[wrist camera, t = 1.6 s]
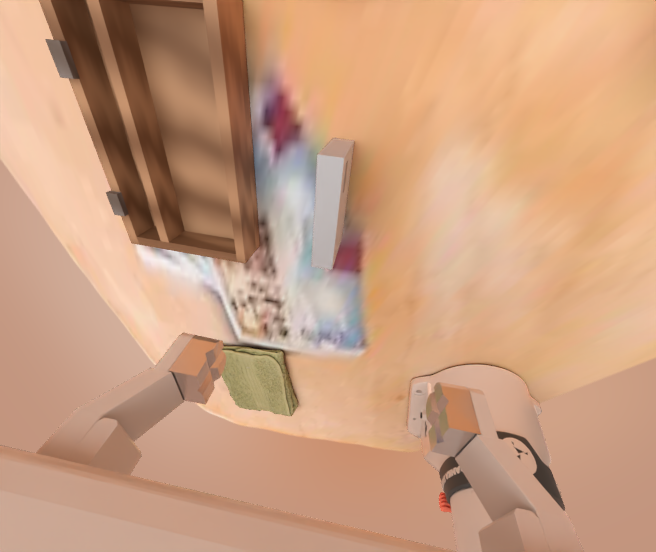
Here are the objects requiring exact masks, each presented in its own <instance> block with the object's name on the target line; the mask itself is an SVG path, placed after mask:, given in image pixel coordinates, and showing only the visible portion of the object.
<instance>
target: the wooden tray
mask: <svg viewBox="0 0 656 552" xmlns="http://www.w3.org/2000/svg"><path fill="white" fill-rule="evenodd" d="M39 2H40V4H41V7H42V10H43V12H44V15H45V18H46V20H47V23H48V25H49V28H50V31H51V33H52V36H53V39H54V40H50V39H46V42H47V45H48V47H49V50H50V52H51V55H52V57H53V60H54V62H55V65H56V67H57V70H58V72H59V75H60V77H62V78H69V80H70V83H71V86H72V88H73V91H74V94H75V96H76V99H77V101H78V104H79V107H80V109H81V112H82V115H83V117H84V120H85V122H86V125H87V128H88V130H89V133H90V136H91V138H92V141H93V143H94V146H95V149H96V151H97V154H98V157H99V159H100V162H101V164H102V167H103V170H104V172H105V175H106V178H107V180H108V183H109V185H110V188H111V191H109V192H106V194H107V197H108V199H109V202H110V204H111V207H112V209H113V212H114V214H115V215H120V216H121V217H122V220H123V222H124V225H125V227H126V230H127V233H128V235H129V238H130V241H131V243H133V244H139V245H145V246H150V247H156V248H162V249H167V250H173V251H179V252H184V253H190V254H195V255H201V256H207V257H212V258H218V259H224V260H229V261H235V262H241V263H246V262H247V261H248V260H249V258H250V257H251V256H252V255H253V253H254V252H255V251H256V250H257V248H258V247H259V246H260V240H259V226H258V212H257V198H256V184H255V170H254V156H253V142H252V128H251V114H250V100H249V86H248V73H247V59H246V45H245V31H244V17H243V3H242V0H39Z"/></svg>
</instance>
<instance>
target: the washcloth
mask: <svg viewBox="0 0 656 552" xmlns="http://www.w3.org/2000/svg"><path fill="white" fill-rule="evenodd" d="M222 351H223V352H224V353H225V354H226V364H225V367H224V371H223V373H222V378H223V379H224V381H225V384H226V385H227V387H228V389H229V391H230V395H231V397H232V398H233V400H234V401H235V404H236V405H237V406H238V407H240V408H244V409H249V410H252V409H253V410H258V411H261V410H265V411H270V412H273V413H275V414H281V415H286V416H292V415H293V413H294V412H295V410H296V408H297V407H298V403H297V398H296V397H295V394H294V390H293V389H292V384H291V382H290V379H289V375H288V374H289V373H288V372H287V370H286V365H285V363H284V357H283V356H284V353H283V352H282V351H280V350H260V349H254V348H251V347H239V346H224V347H223V349H222Z"/></svg>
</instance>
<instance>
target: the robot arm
mask: <svg viewBox="0 0 656 552" xmlns="http://www.w3.org/2000/svg"><path fill="white" fill-rule="evenodd" d="M223 347H224V345H223V341H221V340H216V339H211V338H207V337H202V336H197V335H193V334H187V333H182V334H181V335H179V336H178V337H177V339H176V340H175V341H174V343H173V344H172V345H171V347H170V348H169V349H168V350H167V352H166V353H165V354H164V356H163V357H162V358H161V360H160V361H159V362H158V363H157V365H156V366H155V368H149V369H147V370H145V371H143V372H141V373H140V374H138V375H136V376H134V377H133V378H131V379H129V380H127V381H126V382H124V383H122V384H120V385H118V386H116V387H115V388H113V389H111V390H109V391H108V392H106V393H104V394H102V395H101V396H99V397H97V398H95V399H93V400H92V401H90V402H88V403H86V404H84V405H82V406H81V407H79V408H77V409H75V410H74V412H73V413H72V414H71V415H70V416H69V417H68V418H67V419H66V420H65V421H64V423H63V424H62V425H61V426H60V427H59V428H58V429H57V430H56V431H55V432H54V434H53V435H52V436H51V437H50V438H49V439H48V441H46V442H45V444H44V445H43V446H42V447H41V448H40V449H39V450H38V451H37V452H36V453H33V452H28V451H24V450H20V449H16V448H11V447H7V446H3V445H0V552H584V551H583V548H582V546H581V544H580V541H579V539H578V537H577V534H576V531H575V529H574V526H573V524H572V522H571V520H570V518H569V517H568V515H567V514H566V513H565V512H564V511H565V507H564V504H563V501H562V498H561V492H560V490H559V487H558V485H557V484H556V482H555V480H554V477H553V474H552V472H551V470H550V469H549V465H550V464H551V456H550V453H549V450H548V447H547V444H546V440H545V437H544V434H543V431H542V428H541V425H540V422H539V418H538V415H539V414H541V412H542V410H541V407H540V404H539V403H538V402H537V401H536V400H535V399H534V398H532V397H531V396H530V394H529V391H528V387H527V385H526V383H525V382H524V381H523V380H522V379H521V378H520V377H519V376H517V375H516V374H514V373H512V372H510V371H508V370H505V369H503V368H499V367H495V366H489V365H462V366H456V367H452V368H448V369H445V370H443V371H441V372H439V373H436V374H434V375H431V376H424V377H418V378H415V379H413V380H412V381H411V385H410V396H409V407H408V418H407V429H408V432H409V433H411V434H413V435H414V436H416V437H418V438H421V443H422V453H423V457H424V459H425V460H426V461H427V462H428V463H429V464H430V465H432V466H433V467H434V468H435V469H436V470H437V471H438V472H439V474H440V478H441V484H442V488H443V491H444V492H445V493H442V492H441V493H440V495H439V497H440V498H439V501H440V502H439V505H440V508H441V511H444V512H451V513H452V520H453V527H454V534H455V541H456V549H457V551H452V550H448V549H444V548H440V547H435V546H431V545H427V544H423V543H418V542H414V541H410V540H405V539H401V538H396V537H393V536H388V535H384V534H379V533H375V532H371V531H367V530H363V529H358V528H354V527H349V526H345V525H341V524H337V523H332V522H328V521H323V520H319V519H315V518H311V517H307V516H303V515H298V514H294V513H289V512H285V511H281V510H277V509H273V508H268V507H264V506H260V505H255V504H251V503H247V502H243V501H238V500H234V499H230V498H226V497H221V496H217V495H212V494H208V493H204V492H200V491H195V490H191V489H187V488H182V487H178V486H174V485H170V484H166V483H161V482H157V481H152V480H148V479H144V478H140V477H135V476H131V475H130V474H131V472H132V471H133V469H134V468H135V466H136V464H137V463H138V461H139V459H140V458H141V451H140V450H139V448H138V447H137V446H136V445H135V443H134V441H135V440H136V439H138V438H139V437H140V436H141V435H143V434H144V433H145V432H146V431H148V430H149V429H150V428H152V427H153V426H154V425H155V424H157V423H158V422H159V421H160V420H162V419H163V418H164V417H165V416H167V415H168V414H169V413H170V412H172V411H173V410H174V409H175V408H177V407H178V406H179V405H180V404H182V403H183V402H184V400H185V401H191V402H196V403H202V404H206V403H207V401H208V399H209V397H210V395H211V394H212V392H213V390H214V381H215V380H217V379H218V378H220V377H221V375H222V373H223V371H224V367H225V364H226V354H225V353H224V352H223V351H222V349H223Z"/></svg>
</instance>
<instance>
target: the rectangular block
mask: <svg viewBox="0 0 656 552" xmlns="http://www.w3.org/2000/svg"><path fill="white" fill-rule="evenodd" d="M353 148H354V140H346V139H338V138H333V139H332V140H331V141H330V142H329V143H328V144H327V145H326V146H325V147H324V148H323V149H322V150H321V151H320V152H319V153H318V154H317V172H316V190H315V208H314V226H313V244H312V262H311V267H317V268H323V269H329V270H332V268H333V265H334V262H335V259H336V256H337V252H338V249H339V246H340V243H341V239H342V236H343V228H344V220H345V212H346V204H347V196H348V188H349V180H350V172H351V164H352V156H353Z"/></svg>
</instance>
